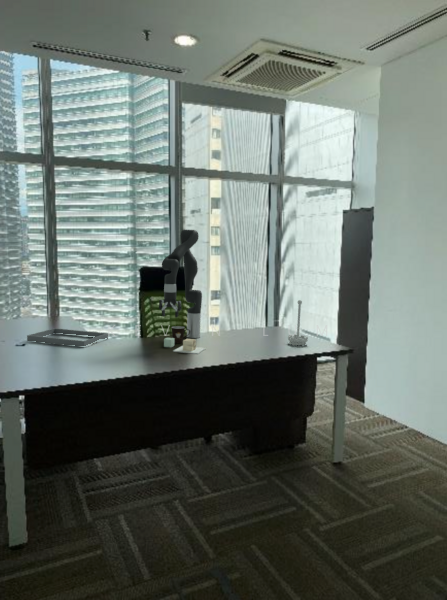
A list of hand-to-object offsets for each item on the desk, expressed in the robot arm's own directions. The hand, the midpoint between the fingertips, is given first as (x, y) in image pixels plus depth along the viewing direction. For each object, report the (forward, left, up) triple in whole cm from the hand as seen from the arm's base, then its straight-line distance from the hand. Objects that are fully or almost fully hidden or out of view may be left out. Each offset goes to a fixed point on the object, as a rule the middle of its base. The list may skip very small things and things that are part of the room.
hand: (170, 316), depth 280 cm
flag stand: (-42, +75, -20) cm, 88 cm away
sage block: (-1, -1, -19) cm, 19 cm away
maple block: (+5, +15, -19) cm, 24 cm away
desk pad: (+4, +15, -19) cm, 25 cm away
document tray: (+11, -67, -19) cm, 70 cm away
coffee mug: (-14, +1, -19) cm, 24 cm away
